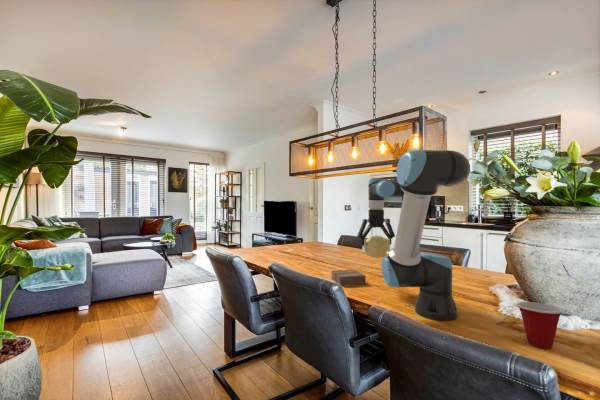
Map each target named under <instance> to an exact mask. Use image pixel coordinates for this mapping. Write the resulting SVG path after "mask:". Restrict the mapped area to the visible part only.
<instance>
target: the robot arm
mask: <svg viewBox="0 0 600 400" xmlns="http://www.w3.org/2000/svg"><path fill="white" fill-rule="evenodd" d="M395 173H396V177H395V178H396V180H385V179H384V178H381V177H371V178H369V179H368V185H367V186H368V208H369V209H368V218H362V221H361V222H362V223H361V225H360V227H359V231H358V232H357V236H356V237H357V238H359V239H360V245H361V247H362V248H361V249H362V252H363V253H366V240H367V238H366V237H367V236H368V234H369V233H370V231H371V230H372V229H373V228H376V229H377V228H380V229H381V230H382V231H383V233H384V234H385V236H386V237H385V238H386V239H387V240H389V242H390V243H389V249H388V251H387V253H388V256H386V255H385V256H384V257H381V264H380V265H381V272H382V277H383V279H384V282H385V284H386V285H387V286H388V287H390V288H398V289H401V288H419V291H418V294H417V298H416V300H415V303H414V312H415V313H416V314H418V315H420V316H422V317H424V318H428V319H429V320H435V321H452V320H456V319H457V318H458V308H457V306H456V305H457V304H456V303H455V300H454V296H453V264H452V263H453V261H452V259H451V258H450V257H449V256H447V255H446V256H445V255H443V254H438V253H434V252H433V253H432V252H426V251H425V252H424V251H423V252H421V251H419V249H420V244H421V241H422V237H423V232H424V228H425V223H426V219H427V216H428V215H427V213H428V210H429V205H430V202H431V197H433V196H435V195H436V194H437V193H438V188H441V187H448V188H449V187H454V186H457V185H460V184H462V183H463V182H465V181H466V180H467V179H468V177H469V176H470V173H471V163H470V162H469V160H468V158H467V157H466V156H465V155H464V154H463V153H461V152H459V151H456V150H448V149H447V150H440V149H437V150H435V149H434V150H433V149H428V150H427V149H418V150H408V151H406V152H405V153H404V154H403V155H402V156H401V157H400V159H399V160H398V163H397V167H396V172H395ZM385 198H403V199H402V203H401V207H400V214H399V220H398V224H397V231H396V233H395V232H394V229H393V226H392V225H391V220H390V218H385V210H384V208H385ZM384 223H385V225H386V227H385V225H384ZM367 224H368V225H367ZM366 226H367V227H366ZM393 238H395V240H394V247H392V248H390V247H391V245H392V239H393Z"/></svg>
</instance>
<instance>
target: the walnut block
mask: <svg viewBox="0 0 600 400" xmlns="http://www.w3.org/2000/svg"><path fill="white" fill-rule="evenodd" d="M331 280H333V282H335V283H336V284H337V283H339V284H340V285H341V286H340V285H339V286H340V287H347V286H362V285H366V280H367V279H366V275H365V274H363V273H361V272H360V271H358V270H356V269H344V270H340V269H339V270H331Z"/></svg>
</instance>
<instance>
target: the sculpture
mask: <svg viewBox="0 0 600 400" xmlns="http://www.w3.org/2000/svg"><path fill="white" fill-rule="evenodd" d="M386 238H387V237H383V236H381V235H373V236H369V237H368V238H366V253H365V252H364V253H365V255H366V256H368V257H371V258H376V259H380V258H381V259H382V258H383V257H385V256H386V255H387V253H388V249H389V243H390V242H389V240H387V239H386Z"/></svg>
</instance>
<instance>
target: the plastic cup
mask: <svg viewBox="0 0 600 400" xmlns="http://www.w3.org/2000/svg"><path fill="white" fill-rule="evenodd" d="M516 306H518V308H519V311H520V315H521V318H522V323H523V326H524V327H523V328H524V331H525V336H526V340H527V343H528V344H529V345H531V347H536V348H538V349H542V350H551V349H552V348H553V345H554V342H555V338H556V334H557V328H558V323H559V321H560V317H561V314H562V313H563V309H562V308H560V307H557V306H554V305H552V304H548V303H540V302H533V301H531V302H530V301H519V302H516Z"/></svg>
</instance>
